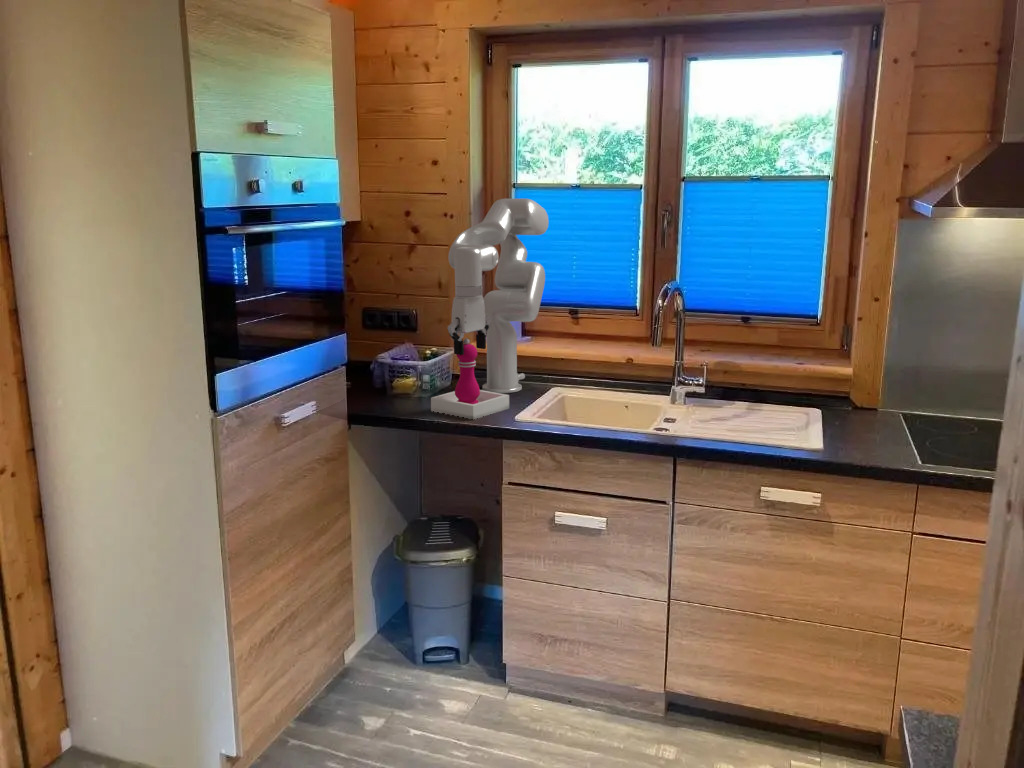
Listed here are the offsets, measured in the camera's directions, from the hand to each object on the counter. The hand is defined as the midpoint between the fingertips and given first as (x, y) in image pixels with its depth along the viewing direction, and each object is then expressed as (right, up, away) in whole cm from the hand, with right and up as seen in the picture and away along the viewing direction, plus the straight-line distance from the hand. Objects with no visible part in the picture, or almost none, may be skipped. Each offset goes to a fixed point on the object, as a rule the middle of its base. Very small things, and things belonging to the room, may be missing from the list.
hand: (470, 351), depth 238 cm
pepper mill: (-1, -16, +2) cm, 16 cm away
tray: (0, -17, +3) cm, 17 cm away
